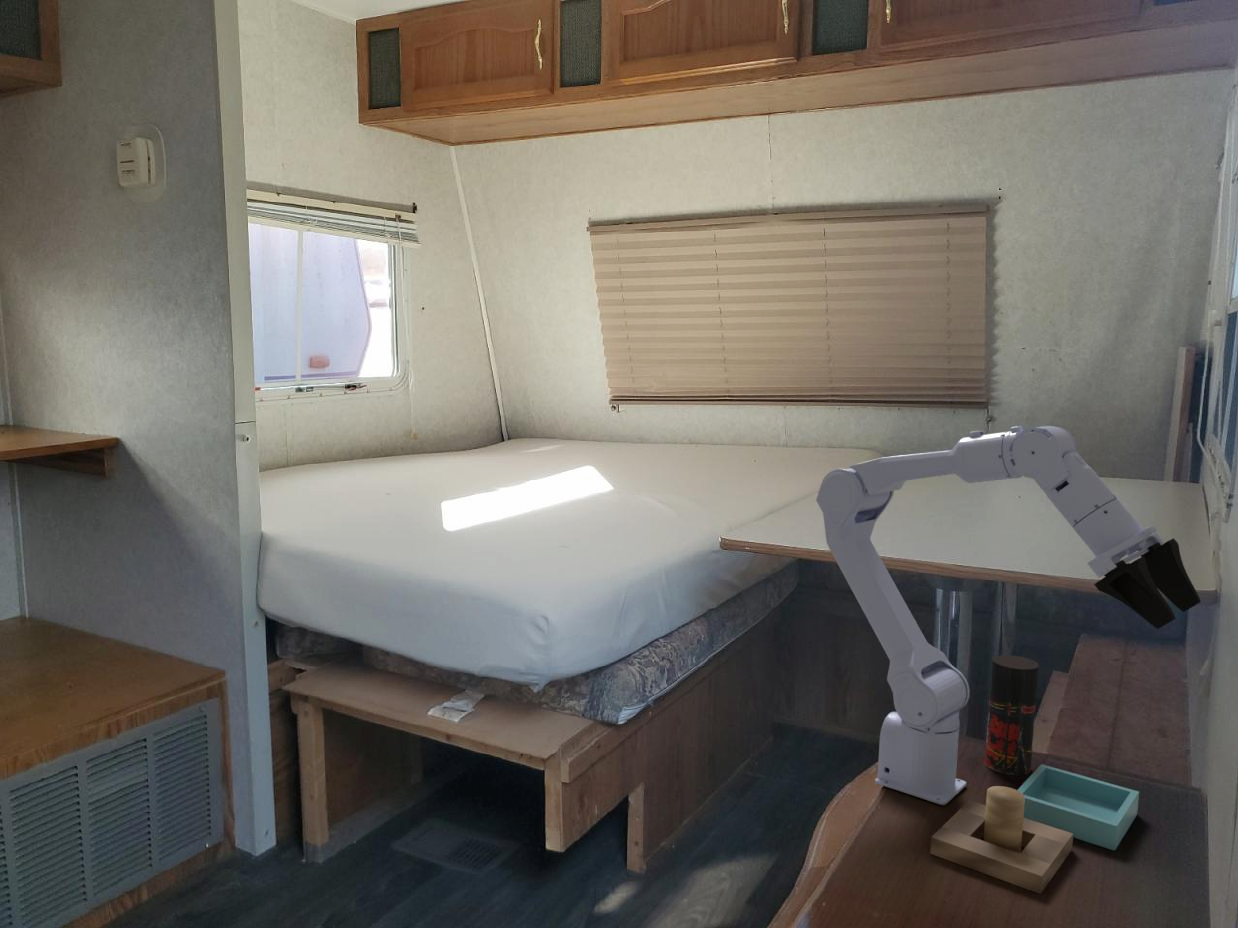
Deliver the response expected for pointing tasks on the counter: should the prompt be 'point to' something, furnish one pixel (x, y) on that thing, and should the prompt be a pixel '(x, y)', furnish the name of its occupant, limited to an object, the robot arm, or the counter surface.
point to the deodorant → (1011, 715)
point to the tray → (1080, 805)
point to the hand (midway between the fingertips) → (1179, 615)
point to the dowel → (1004, 817)
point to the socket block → (1003, 849)
